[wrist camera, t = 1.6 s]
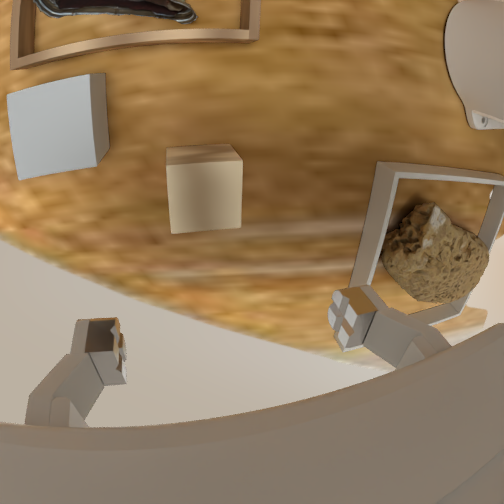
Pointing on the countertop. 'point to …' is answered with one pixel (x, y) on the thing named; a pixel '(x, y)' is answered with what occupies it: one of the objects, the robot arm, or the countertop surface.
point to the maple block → (204, 187)
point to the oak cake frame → (119, 36)
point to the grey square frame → (379, 215)
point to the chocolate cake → (120, 8)
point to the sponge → (434, 256)
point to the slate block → (59, 125)
